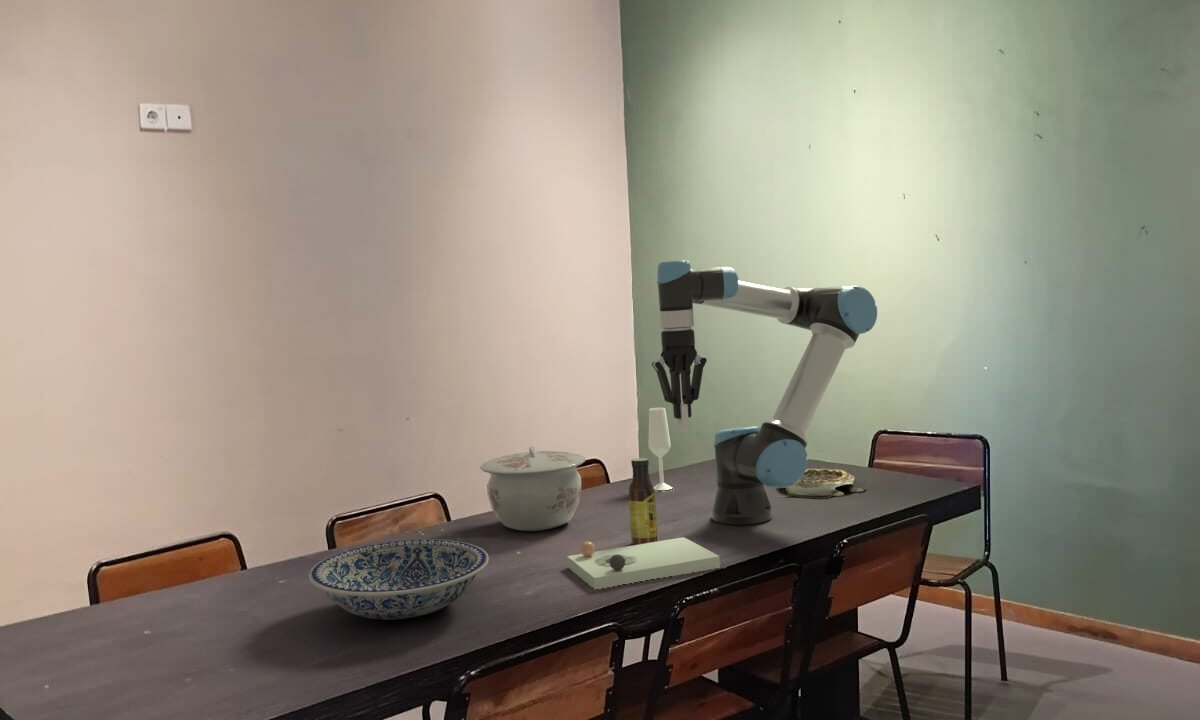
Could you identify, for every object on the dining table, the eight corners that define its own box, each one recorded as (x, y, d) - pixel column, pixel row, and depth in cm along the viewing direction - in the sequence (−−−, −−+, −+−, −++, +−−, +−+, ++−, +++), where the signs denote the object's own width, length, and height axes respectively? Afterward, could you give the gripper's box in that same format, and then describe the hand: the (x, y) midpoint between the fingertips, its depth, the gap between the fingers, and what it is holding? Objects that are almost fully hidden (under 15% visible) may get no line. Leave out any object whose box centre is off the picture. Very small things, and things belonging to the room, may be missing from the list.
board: (684, 547, 218) (683, 537, 217) (720, 567, 201) (719, 556, 200) (567, 567, 208) (567, 556, 208) (595, 590, 191) (594, 577, 191)
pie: (751, 496, 267) (750, 478, 267) (790, 478, 289) (789, 462, 289) (848, 503, 251) (847, 484, 251) (881, 483, 274) (880, 466, 273)
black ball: (622, 566, 198) (621, 551, 197) (627, 570, 195) (626, 555, 194) (607, 569, 196) (606, 554, 196) (613, 573, 193) (612, 557, 193)
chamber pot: (526, 545, 229) (520, 460, 227) (464, 528, 250) (457, 450, 248) (613, 521, 247) (607, 442, 246) (547, 507, 268) (542, 434, 266)
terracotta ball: (592, 553, 209) (591, 538, 209) (597, 556, 206) (596, 542, 206) (578, 555, 208) (577, 541, 208) (583, 559, 205) (582, 544, 205)
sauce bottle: (656, 546, 220) (650, 461, 219) (629, 546, 222) (624, 462, 220) (660, 539, 227) (655, 456, 225) (634, 539, 228) (629, 457, 226)
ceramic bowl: (407, 655, 163) (402, 598, 162) (274, 628, 181) (269, 576, 181) (526, 594, 192) (523, 545, 191) (401, 576, 210) (397, 531, 209)
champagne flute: (651, 487, 286) (646, 407, 284) (674, 486, 285) (669, 406, 283) (649, 491, 279) (644, 410, 277) (672, 491, 278) (667, 409, 276)
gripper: (696, 326, 221) (702, 427, 223) (644, 331, 217) (651, 433, 219) (710, 327, 214) (716, 431, 216) (657, 331, 210) (664, 437, 212)
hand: (683, 432), depth 217 cm, fingers closed
